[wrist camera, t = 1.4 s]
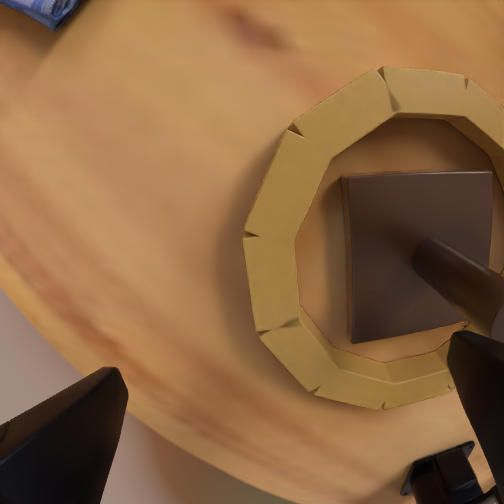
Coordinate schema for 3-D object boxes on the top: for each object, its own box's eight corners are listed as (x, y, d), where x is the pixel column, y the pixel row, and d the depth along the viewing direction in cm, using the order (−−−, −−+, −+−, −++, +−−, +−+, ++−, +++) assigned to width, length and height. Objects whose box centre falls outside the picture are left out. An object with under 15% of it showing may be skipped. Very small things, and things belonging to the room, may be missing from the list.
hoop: (503, 351, 16) (518, 366, 14) (269, 403, 17) (269, 426, 15) (521, 95, 11) (543, 93, 9) (225, 87, 12) (219, 75, 10)
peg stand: (470, 308, 15) (544, 380, 8) (346, 332, 16) (389, 441, 8) (479, 169, 13) (587, 190, 6) (340, 174, 13) (416, 196, 6)
